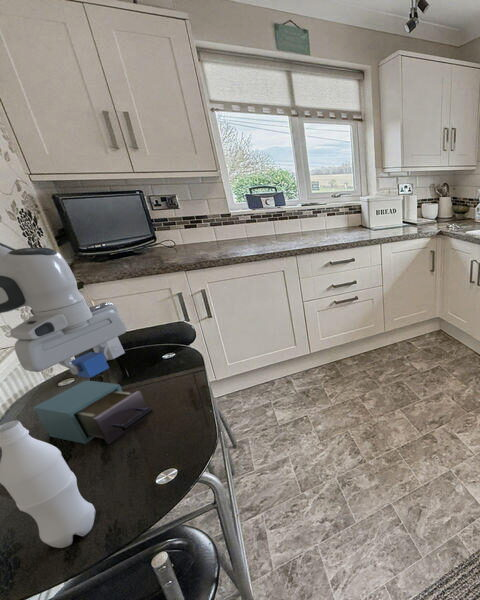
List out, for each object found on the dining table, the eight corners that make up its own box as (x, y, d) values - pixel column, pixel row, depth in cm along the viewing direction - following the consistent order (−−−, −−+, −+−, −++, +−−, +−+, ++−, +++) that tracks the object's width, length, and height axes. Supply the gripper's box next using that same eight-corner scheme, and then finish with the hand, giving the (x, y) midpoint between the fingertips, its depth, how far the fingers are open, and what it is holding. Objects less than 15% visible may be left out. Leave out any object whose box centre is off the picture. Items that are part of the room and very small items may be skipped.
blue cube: (78, 376, 81) (70, 361, 79) (97, 366, 85) (90, 351, 83) (90, 377, 80) (82, 362, 78) (109, 367, 84) (102, 352, 82)
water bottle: (76, 514, 64) (10, 412, 55) (110, 513, 64) (50, 410, 55) (37, 554, 58) (-45, 445, 49) (75, 553, 57) (0, 443, 48)
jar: (109, 364, 122) (95, 336, 118) (92, 363, 124) (78, 335, 120) (131, 352, 131) (119, 325, 126) (115, 351, 132) (103, 325, 128)
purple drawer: (164, 416, 89) (153, 393, 86) (123, 447, 80) (110, 421, 77) (118, 409, 94) (107, 386, 91) (75, 437, 84) (61, 413, 82)
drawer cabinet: (132, 412, 94) (119, 384, 90) (85, 444, 83) (68, 413, 80) (99, 407, 98) (85, 380, 94) (50, 436, 87) (32, 407, 83)
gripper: (103, 299, 87) (124, 345, 92) (-1, 335, 68) (31, 389, 73) (120, 299, 85) (140, 346, 90) (18, 336, 67) (50, 392, 72)
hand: (90, 366), depth 82 cm, fingers closed on blue cube, 4 cm apart
